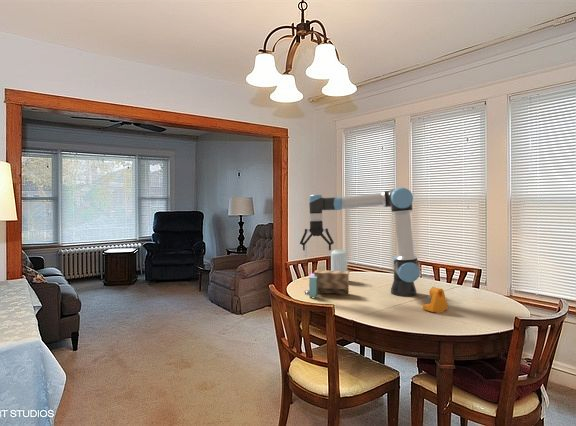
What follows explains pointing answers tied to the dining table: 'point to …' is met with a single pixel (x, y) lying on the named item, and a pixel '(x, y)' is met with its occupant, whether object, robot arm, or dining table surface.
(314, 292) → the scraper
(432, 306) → the bracket
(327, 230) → the robot arm
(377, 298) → the dining table surface
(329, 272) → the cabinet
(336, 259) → the vase
